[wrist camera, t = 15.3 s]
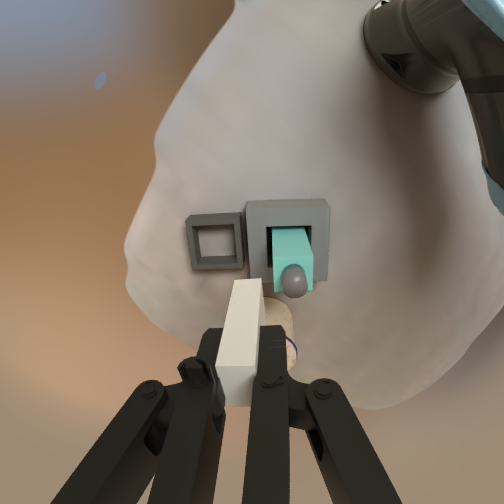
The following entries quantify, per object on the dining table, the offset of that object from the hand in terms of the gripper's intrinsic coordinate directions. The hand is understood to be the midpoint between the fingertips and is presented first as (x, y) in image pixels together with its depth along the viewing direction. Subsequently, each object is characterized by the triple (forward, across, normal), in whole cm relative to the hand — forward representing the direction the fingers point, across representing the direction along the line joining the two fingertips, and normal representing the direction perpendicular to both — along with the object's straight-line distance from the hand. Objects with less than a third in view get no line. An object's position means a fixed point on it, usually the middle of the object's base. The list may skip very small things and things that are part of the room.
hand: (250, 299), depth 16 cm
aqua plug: (+23, +3, -5) cm, 23 cm away
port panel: (+23, +3, -5) cm, 23 cm away
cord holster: (+23, -7, -4) cm, 24 cm away
